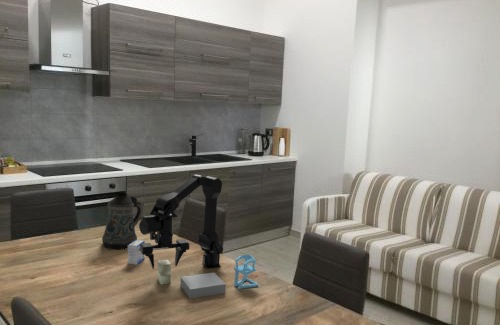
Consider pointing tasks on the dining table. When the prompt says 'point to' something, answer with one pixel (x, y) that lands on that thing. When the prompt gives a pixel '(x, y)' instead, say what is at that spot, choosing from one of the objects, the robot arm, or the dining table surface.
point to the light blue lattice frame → (245, 271)
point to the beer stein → (121, 222)
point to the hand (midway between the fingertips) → (164, 267)
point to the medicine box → (135, 252)
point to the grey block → (202, 285)
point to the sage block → (164, 272)
